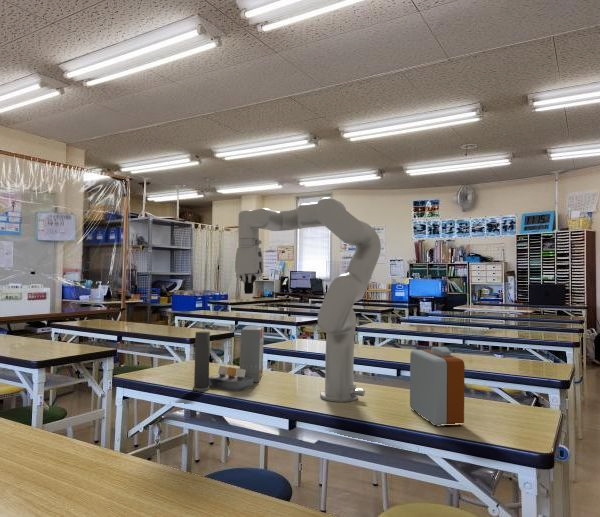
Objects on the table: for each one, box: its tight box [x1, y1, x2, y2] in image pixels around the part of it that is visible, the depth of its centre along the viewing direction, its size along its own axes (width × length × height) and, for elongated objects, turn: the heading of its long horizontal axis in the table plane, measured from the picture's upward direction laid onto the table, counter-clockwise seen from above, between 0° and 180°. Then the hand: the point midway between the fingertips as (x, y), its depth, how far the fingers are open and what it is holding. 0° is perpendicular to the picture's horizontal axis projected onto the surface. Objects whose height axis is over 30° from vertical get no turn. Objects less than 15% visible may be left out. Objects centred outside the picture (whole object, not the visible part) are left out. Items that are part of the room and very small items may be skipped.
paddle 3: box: [217, 365, 229, 376], centre depth 172 cm, size 2×3×4 cm, turn 152°
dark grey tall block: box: [192, 331, 211, 392], centre depth 165 cm, size 6×6×20 cm
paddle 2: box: [227, 366, 237, 378], centre depth 170 cm, size 2×3×4 cm, turn 152°
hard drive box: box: [239, 325, 265, 383], centre depth 184 cm, size 16×8×20 cm, turn 179°
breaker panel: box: [209, 374, 254, 392], centre depth 170 cm, size 14×9×3 cm, turn 62°
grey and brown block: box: [409, 346, 466, 425], centre depth 137 cm, size 18×9×21 cm, turn 9°
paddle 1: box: [236, 367, 246, 379], centre depth 168 cm, size 2×3×4 cm, turn 151°
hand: (248, 293), depth 172 cm, fingers closed
